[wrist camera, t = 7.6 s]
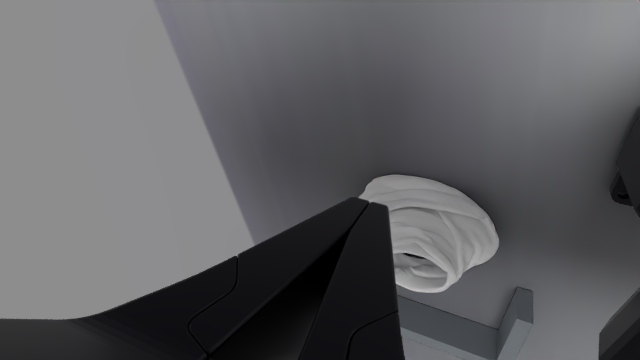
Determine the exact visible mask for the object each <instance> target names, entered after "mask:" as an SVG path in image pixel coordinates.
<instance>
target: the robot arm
mask: <svg viewBox="0 0 640 360" xmlns="http://www.w3.org/2000/svg"><path fill="white" fill-rule="evenodd" d="M616 163H617V166H618V168H619V171H618V173H617V175H616V177H615V179H614V181H613V183H612V185H611V187H610V190H609V191H610V194H611V197H612V199H613V200H614V201H615V202H617V203H620V204H624V205H629V206H633V207H634V210H635V211H636V213H637V214H638V216H639V217H640V115H639V117H638V119H637V120H636V122H635V124H634V126H633V128H632V130H631V132H630V134H629V136H628V138H627V140H626V142H625V144H624V146H623V148H622V150H621V152H620V154H619V156H618V158H617V160H616ZM624 189H627V192H628V193H627V194H624V195H623V194H618V192H619V191H621V190H624ZM398 313H399V310H398V300H397V290H396V280H395V269H394V259H393V249H392V239H391V228H390V218H389V208H388V206H387V205H383V204H380V203H376V202H371V203H370V202H369V201H368V200H365V199H361V198H357V197H351V198H349V199H347V200H345V201H343V202H341V203H339V204H337V205H335V206H333V207H331V208H329V209H327V210H325V211H323V212H321V213H319V214H317V215H315V216H313V217H311V218H309V219H307V220H305V221H303V222H301V223H299V224H297V225H295V226H293V227H291V228H289V229H287V230H285V231H283V232H281V233H279V234H277V235H276V236H274V237H272V238H270V239H268V240H266V241H264V242H262V243H260V244H258V245H256V246H254V247H252V248H250V249H248V250H246V251H244V252H242V253H240V254H238V257H237V256H234V257H232V258H230V259H228V260H226V261H224V262H222V263H220V264H218V265H215V266H213V267H211V268H209V269H207V270H205V271H203V272H201V273H199V274H197V275H194V276H191V277H189V278H187V279H184V280H182V281H180V282H177V283H175V284H173V285H170V286H168V287H165V288H163V289H160V290H158V291H155V292H153V293H150V294H147V295H145V296H143V297H140V298H137V299H135V300H132V301H130V302H127V303H125V304H123V305H120V306H117V307H115V308H112V309H110V310H107V311H104V312H101V313H99V314H95V315H91V316H87V317H82V318H76V319H66V320H65V319H63V320H52V319H49V320H48V319H0V360H405V356H404V350H403V343H402V336H401V329H400V318H399V314H398ZM599 360H640V288H639V289H638V290H637V291H636V292H635V293H634V294H633V295H632V296H631V297H630V298H629V299H628V300H627V301H626V302H625V303H624V305H623V306H622V307H621V308H620V309H619V310H618V311H617V312H616V313H615V314H614V315H613V316H612V317H611V318H610V320H609V321H608V323H607V324H606V325H605V327H604V328H603V329H602V331H601V332H600V336H599Z"/></svg>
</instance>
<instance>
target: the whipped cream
mask: <svg viewBox="0 0 640 360" xmlns="http://www.w3.org/2000/svg"><path fill="white" fill-rule="evenodd" d="M359 198H361V199H365V200H368V201H369V202H370V203H371V202H376V203H380V204H383V205H387V206H388V208H389V218H390V228H391V239H392V249H393V259H394V269H395V280H396V284H398V285H400V286H402V287H404V288H407V289H409V290H412V291H417V292H425V293H437V292H442V291H444V290H446V289H447V288H449V287H450V285H452V284H454V283H456V282H457V281H458V280H459V279H460V278H461V276H462V274H463V273H464V272H465V271H466V270H468V269H470V268H471V267H472V266H476V265H480V264H483V263H484V262H486V261H488V260H489V259H490V258H491V257H492V256H494V254H495V253H496V251H497V249H498V247H499V238H498V235H497V233H496V230H495V227H494V224H493V222H492V221H491V220H490V217H489V216H488V214H487V213H486V212H485V211H484V210H483V209H482V208H480V207H479V206H478V205H477V204H476V203H475V202H474V201H473V200H471V199H470V198H469V197H468V196H466V195H465V194H463V193H462V192H460V191H458V190H457V189H455V188H453V187H449V186H447V185H445V184H443V183H440V182H438V181H434V180H431V179H426V178H422V177H415V176H407V175H387V176H382V177H378V178H375V179H373V180H372V182H370V183H369V184H368V185H367V186H366V189H365V191H364V192H363V193H362V194H361V195H360V196H359ZM403 253H409V254H414V255H418V256H421V257H424V258H426V259H421V258H415V257H411V256H407V255H405V254H403Z"/></svg>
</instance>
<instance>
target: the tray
mask: <svg viewBox="0 0 640 360" xmlns="http://www.w3.org/2000/svg"><path fill="white" fill-rule="evenodd" d="M397 300H398V310H399V313H398V314H399V318H400V329H401V336H403V337H406V338H408V339H411V340H414V341H416V342H419V343H421V344H424V345H427V346H429V347H432V348H435V349H437V350H440V351H443V352H445V353H448V354H451V355H453V356H456V357H459V358H461V359H464V360H515V358H516V356H517V354H518V353H519V351H520V349H521V347H522V345H523V343H524V341H525V339H526V337H527V335H528V333H529V331H530V329H531V327H532V325H533V294H532V291H529V290H526V289H522V288H519V287H517V289H516V291H515V293H514V296H513V298H512V300H511V302H510V305H509V307H508V309H507V311H506V314H505V316H504V318H503V320H502V323H501V325H500V327H499V330H496V329H493V328H490V327H487V326H484V325H482V324H479V323H476V322H473V321H470V320H467V319H464V318H461V317H458V316H455V315H453V314H450V313H447V312H444V311H441V310H438V309H435V308H432V307H429V306H426V305H424V304H421V303H418V302H415V301H412V300H409V299H406V298H403V297H400V296H397Z"/></svg>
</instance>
